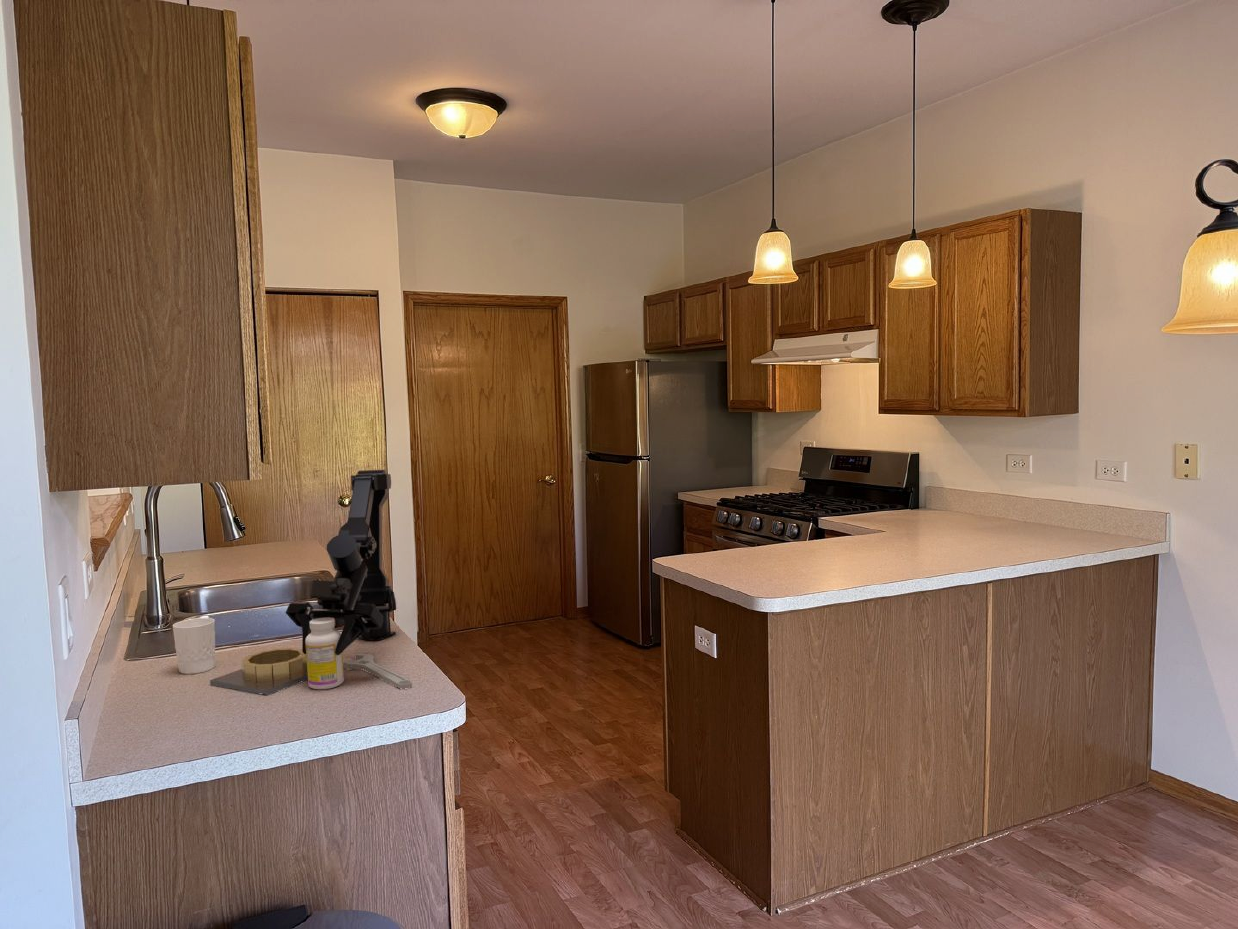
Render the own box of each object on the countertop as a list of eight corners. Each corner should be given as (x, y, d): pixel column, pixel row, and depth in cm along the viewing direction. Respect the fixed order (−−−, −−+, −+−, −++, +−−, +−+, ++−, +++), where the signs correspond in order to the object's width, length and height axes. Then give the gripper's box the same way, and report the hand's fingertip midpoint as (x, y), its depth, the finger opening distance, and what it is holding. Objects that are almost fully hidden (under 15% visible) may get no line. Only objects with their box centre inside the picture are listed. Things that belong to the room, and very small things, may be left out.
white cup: (169, 676, 176) (165, 628, 175) (187, 664, 184) (183, 618, 183) (207, 674, 176) (204, 626, 175) (224, 662, 184) (220, 617, 183)
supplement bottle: (324, 677, 171) (320, 614, 170) (351, 680, 169) (347, 617, 168) (300, 688, 165) (296, 623, 164) (328, 692, 163) (324, 625, 162)
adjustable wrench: (415, 690, 164) (414, 681, 164) (382, 698, 160) (382, 688, 160) (368, 659, 184) (367, 651, 184) (338, 665, 180) (338, 657, 180)
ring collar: (283, 659, 185) (282, 641, 185) (338, 667, 178) (336, 648, 178) (210, 685, 169) (208, 665, 169) (267, 695, 162) (265, 675, 162)
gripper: (287, 562, 171) (257, 631, 161) (373, 563, 167) (347, 634, 157) (312, 592, 179) (284, 659, 170) (394, 593, 175) (370, 663, 166)
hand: (320, 653), depth 165 cm, fingers closed on supplement bottle, 7 cm apart
